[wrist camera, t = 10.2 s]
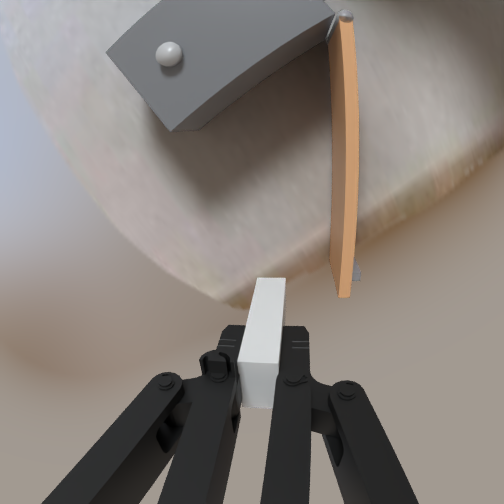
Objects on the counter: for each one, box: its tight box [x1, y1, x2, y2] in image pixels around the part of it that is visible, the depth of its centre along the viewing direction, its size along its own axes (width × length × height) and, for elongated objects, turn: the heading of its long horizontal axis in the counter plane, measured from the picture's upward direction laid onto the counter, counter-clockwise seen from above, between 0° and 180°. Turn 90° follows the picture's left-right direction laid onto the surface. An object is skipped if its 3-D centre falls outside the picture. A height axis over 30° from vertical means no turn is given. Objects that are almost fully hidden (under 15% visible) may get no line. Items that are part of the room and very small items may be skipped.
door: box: [327, 10, 361, 298], centre depth 25 cm, size 24×2×8 cm, turn 2°
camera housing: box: [106, 0, 335, 132], centre depth 22 cm, size 18×10×9 cm, turn 127°
